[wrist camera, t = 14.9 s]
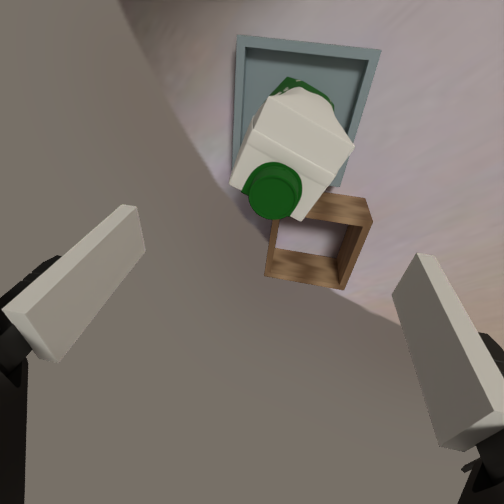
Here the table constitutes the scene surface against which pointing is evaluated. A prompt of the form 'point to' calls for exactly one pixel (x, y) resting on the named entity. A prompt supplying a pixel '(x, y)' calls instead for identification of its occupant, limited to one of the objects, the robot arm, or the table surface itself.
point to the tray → (305, 69)
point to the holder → (322, 267)
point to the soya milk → (290, 151)
